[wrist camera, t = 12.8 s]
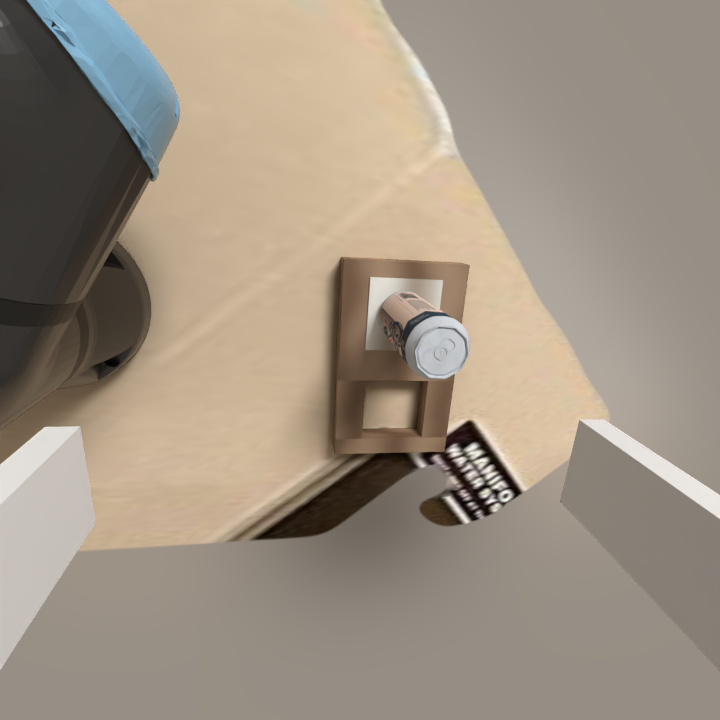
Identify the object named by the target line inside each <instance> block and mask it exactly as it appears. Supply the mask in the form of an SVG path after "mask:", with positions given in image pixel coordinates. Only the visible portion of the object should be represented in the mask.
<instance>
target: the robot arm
mask: <svg viewBox="0 0 720 720" xmlns="http://www.w3.org/2000/svg"><path fill="white" fill-rule="evenodd" d="M179 116H180V108H179V102H178V97H177V94H176V91H175V89H174V87H173V85H172V82H171V80H170V79H169V77H168V75H167V74H166V72H165V71H164V69H163V68H162V66H161V65H160V63H159V62H158V61H157V59H156V58H155V57H154V55H153V54H152V53H151V52H150V50H149V49H148V48H147V47H146V45H145V44H144V43H143V42H142V41H141V39H140V38H139V37H138V36H137V35H136V33H135V32H134V31H133V30H132V29H131V28H130V27H129V25H128V24H127V23H126V22H125V21H124V20H123V19H122V18H121V16H120V15H119V14H118V13H117V12H116V11H115V10H114V9H113V8H112V7H111V6H110V4H109V3H108V2H107V1H106V0H0V430H2V429H3V428H4V427H6V426H7V425H8V424H10V423H11V422H13V421H14V420H15V419H17V418H18V417H19V416H21V415H22V414H23V413H25V412H26V411H27V410H29V409H30V408H32V407H33V406H34V405H36V404H37V403H38V402H40V401H41V400H42V399H44V398H45V397H46V396H48V395H49V394H50V393H52V392H53V391H55V390H58V389H65V388H72V387H78V386H83V385H88V384H91V383H94V382H96V381H99V380H101V379H103V378H105V377H107V376H109V375H111V374H113V373H114V372H115V371H117V370H118V369H119V368H121V367H122V366H123V365H124V364H125V363H126V362H128V361H129V360H130V359H131V358H132V357H133V356H134V355H135V354H136V352H137V351H138V350H139V348H140V347H141V345H142V344H143V342H144V340H145V338H146V335H147V332H148V329H149V325H150V318H151V302H150V296H149V291H148V288H147V284H146V282H145V279H144V277H143V275H142V273H141V271H140V269H139V267H138V265H137V264H136V262H135V261H134V259H133V258H132V257H131V255H130V254H129V253H128V252H127V251H126V250H125V249H124V247H123V246H122V245H121V244H119V243H118V242H117V239H118V238H119V236H120V234H121V232H122V230H123V229H124V227H125V225H126V223H127V221H128V219H129V218H130V216H131V214H132V212H133V210H134V209H135V207H136V205H137V203H138V201H139V200H140V198H141V196H142V194H143V192H144V190H145V189H146V187H147V185H148V183H149V181H155V180H156V178H157V176H158V174H159V168H158V165H159V163H160V161H161V159H162V157H163V155H164V153H165V151H166V148H167V146H168V144H169V142H170V140H171V138H172V136H173V134H174V132H175V130H176V128H177V125H178V122H179ZM560 502H561V503H562V504H563V505H564V506H565V507H566V508H567V509H568V510H569V511H570V512H571V514H572V515H573V516H574V517H575V518H576V519H577V520H578V521H579V522H580V523H581V524H582V525H583V526H584V527H585V528H586V530H588V532H589V533H590V534H591V535H592V536H593V537H594V538H595V539H596V540H597V541H598V542H599V543H600V544H601V545H602V547H603V548H604V549H605V550H606V551H607V552H608V553H609V554H610V555H611V556H612V557H613V558H614V559H615V560H616V561H617V562H618V564H619V565H621V567H622V568H623V569H624V570H625V571H626V572H627V573H628V574H629V575H630V576H631V577H632V578H633V579H634V580H635V582H636V583H637V584H638V585H639V586H640V587H641V588H642V589H643V590H644V591H645V592H646V593H647V594H648V595H649V596H650V598H651V599H652V600H653V601H654V602H655V603H656V604H657V605H658V606H659V607H660V608H661V609H662V610H663V611H664V612H665V614H667V615H668V617H669V618H670V619H671V620H672V621H673V622H674V623H675V624H676V625H677V626H678V627H679V628H680V629H681V630H682V632H683V633H684V634H685V635H686V636H687V637H688V638H689V639H690V640H691V641H692V642H693V643H694V644H695V645H696V646H697V648H698V649H699V650H700V651H701V652H702V653H703V654H704V655H705V656H706V657H707V658H708V659H709V660H710V661H711V662H712V663H713V665H714V666H715V667H716V668H717V669H718V670H719V671H720V495H719V494H717V493H716V492H714V491H713V490H711V489H710V488H708V487H706V486H705V485H703V484H702V483H700V482H699V481H697V480H696V479H694V478H693V477H691V476H689V475H688V474H686V473H685V472H683V471H682V470H680V469H679V468H677V467H676V466H674V465H672V464H671V463H670V462H668V461H666V460H665V459H663V458H662V457H660V456H659V455H657V454H656V453H654V452H653V451H651V450H650V449H648V448H647V447H645V446H643V445H642V444H640V443H639V442H637V441H636V440H634V439H633V438H631V437H630V436H628V435H627V434H625V433H623V432H622V431H620V430H619V429H617V428H616V427H614V426H613V425H611V424H610V423H608V422H607V421H605V420H579V424H578V428H577V432H576V437H575V441H574V445H573V449H572V453H571V457H570V462H569V466H568V470H567V474H566V479H565V483H564V487H563V491H562V495H561V499H560ZM94 524H95V516H94V510H93V504H92V497H91V491H90V485H89V478H88V472H87V466H86V459H85V453H84V447H83V440H82V434H81V428H80V426H74V427H44V428H43V429H42V430H41V431H39V432H38V433H37V434H36V435H35V436H33V437H32V438H31V439H30V440H29V441H27V442H26V443H25V444H24V445H23V446H22V447H20V448H19V449H18V450H17V451H16V452H14V453H13V454H12V455H11V456H10V457H9V458H7V459H6V460H5V461H4V462H3V463H1V464H0V669H1V668H2V666H3V665H4V663H5V662H6V660H7V659H8V657H9V655H10V654H11V652H12V651H13V649H14V648H15V646H16V645H17V643H18V642H19V640H20V639H21V637H22V635H23V634H24V632H25V631H26V629H27V628H28V626H29V625H30V623H31V622H32V620H33V618H34V617H35V615H36V614H37V612H38V611H39V609H40V608H41V606H42V605H43V603H44V601H45V600H46V598H47V596H48V595H49V594H50V592H51V591H52V589H53V588H54V586H55V585H56V583H57V581H58V580H59V578H60V577H61V575H62V574H63V572H64V571H65V569H66V568H67V566H68V564H69V563H70V561H71V560H72V558H73V557H74V555H75V554H76V552H77V551H78V549H79V547H80V546H81V544H82V543H83V541H84V540H85V538H86V537H87V535H88V534H89V532H90V530H91V529H92V527H93V526H94Z"/></svg>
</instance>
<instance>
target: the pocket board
mask: <svg viewBox="0 0 720 720" xmlns="http://www.w3.org/2000/svg"><path fill="white" fill-rule="evenodd" d="M469 266H470V265H467V264H463V263H452V262H432V261H411V260H391V259H371V258H350V257H341V278H340V300H339V322H338V344H337V366H336V388H335V411H334V433H333V447H334V452H335V454H361V453H403V452H444V450H445V443H446V435H447V428H448V420H449V413H450V406H451V398H452V391H453V384H454V376H455V374H453V375H452V376H450V377H448V378H446V379H440V380H429V379H425V378H423V377H420V376H419V375H417V374H416V373H415V372H414V371H413V370H412V369H411V368H410V367H409V365H408V364H407V363H406V361H405V360H404V359H403V357H402V356H401V355H400V353H399V352H398V351H397V349H396V348H395V347H394V345H393V344H392V343H391V341H390V340H389V339H388V337H387V336H386V335H385V333H384V332H383V331H382V329H381V327H380V324H379V318H378V317H379V311H380V308H381V306H382V304H383V302H384V301H385V300H386V299H387V298H388V297H389V296H390V295H392V294H394V293H396V292H400V291H410V292H413V293H416V294H417V295H419V296H420V297H422V298H423V299H425V300H426V301H428V302H429V303H431V304H432V305H434V306H435V307H437V308H438V309H440V310H441V311H443V312H444V313H446V314H447V315H449V316H450V317H452V318H454V319H455V320H457V321H458V322H459V323H461V324H462V317H463V310H464V303H465V295H466V288H467V280H468V273H469ZM366 381H421V389H420V398H419V407H418V416H417V425H416V428H393V429H362V427H363V413H364V398H365V383H366Z"/></svg>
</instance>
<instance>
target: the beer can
mask: <svg viewBox="0 0 720 720" xmlns="http://www.w3.org/2000/svg"><path fill="white" fill-rule="evenodd" d="M378 318H379V324H380V327H381V329H382V331H383V332H384V333H385V335H386V336H387V337H388V339H389V340H390V341H391V343H392V344H393V345H394V347H395V348H396V349H397V351H398V352H399V353H400V355H401V356H402V357H403V359H404V360H405V361H406V363H407V364H408V365H409V367H410V368H411V369H412V370H413V371H414V372H415V373H416V374H417V375H419V376H420V377H423V378H425V379H429V380H440V379H446V378H448V377H450V376H452V375H453V374H455V373H457V372H459V371H460V370H461V369H462V367H463V365H464V364H465V362H466V360H467V358H468V356H469V351H470V340H469V335H468V333H467V331H466V329H465V328H464V327H463V325H462V324H461V323H459V322H458V321H457V320H455V319H454V318H452V317H450V316H449V315H447V314H446V313H444V312H443V311H441V310H440V309H438V308H437V307H435V306H434V305H432V304H431V303H429V302H428V301H426V300H425V299H423V298H422V297H420V296H419V295H417V294H416V293H413V292H410V291H400V292H396V293H394V294H392V295H390V296H389V297H388V298H387V299H386V300H385V301H384V302H383V304H382V306H381V308H380V311H379V317H378Z"/></svg>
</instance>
